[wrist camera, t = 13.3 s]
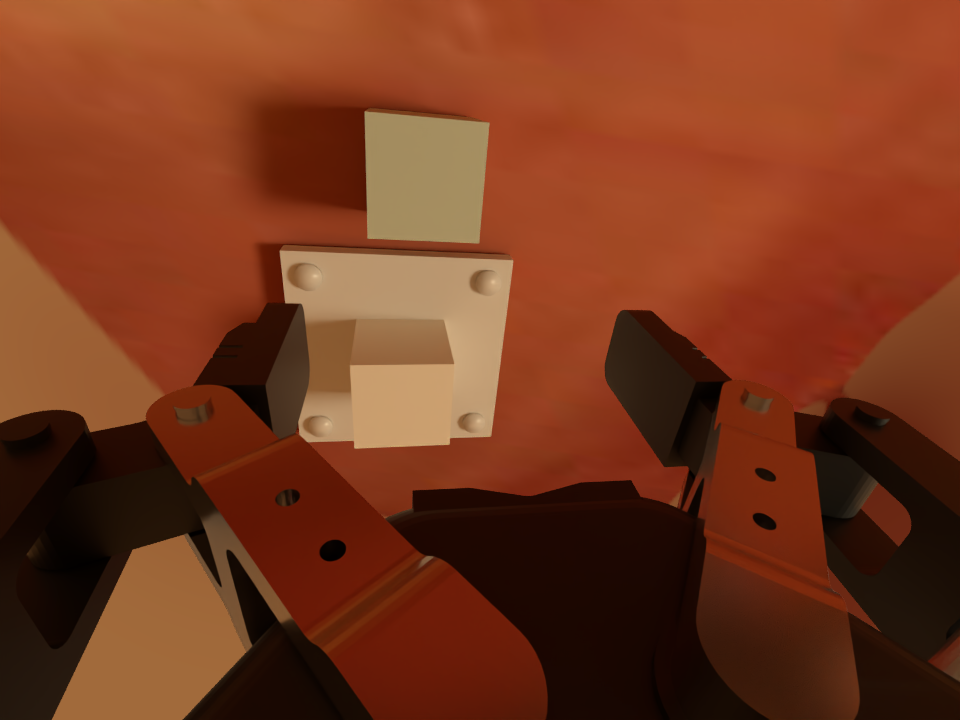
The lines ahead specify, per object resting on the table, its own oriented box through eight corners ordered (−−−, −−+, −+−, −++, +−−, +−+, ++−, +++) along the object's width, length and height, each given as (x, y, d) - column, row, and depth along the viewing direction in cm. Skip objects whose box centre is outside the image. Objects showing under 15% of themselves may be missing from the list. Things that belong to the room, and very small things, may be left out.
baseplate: (283, 244, 29) (278, 252, 27) (509, 254, 31) (514, 262, 30) (303, 431, 35) (299, 445, 34) (488, 427, 38) (491, 439, 37)
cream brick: (356, 319, 31) (349, 365, 25) (443, 319, 32) (454, 364, 26) (360, 392, 33) (354, 448, 28) (440, 391, 34) (449, 444, 29)
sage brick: (369, 107, 26) (364, 111, 21) (470, 117, 27) (489, 122, 22) (371, 212, 29) (367, 238, 24) (463, 217, 30) (479, 243, 25)
